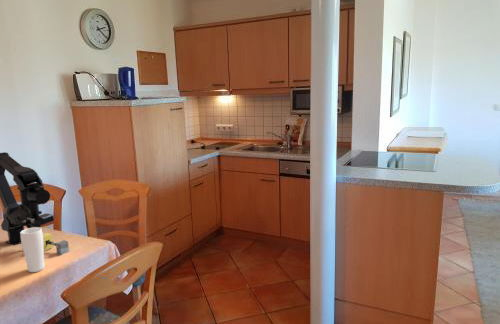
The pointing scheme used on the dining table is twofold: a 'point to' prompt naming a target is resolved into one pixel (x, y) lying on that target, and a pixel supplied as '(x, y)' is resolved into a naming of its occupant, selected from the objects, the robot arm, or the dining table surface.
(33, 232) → the drinking glass
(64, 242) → the cord fixture
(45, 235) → the sleeve
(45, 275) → the dining table surface
